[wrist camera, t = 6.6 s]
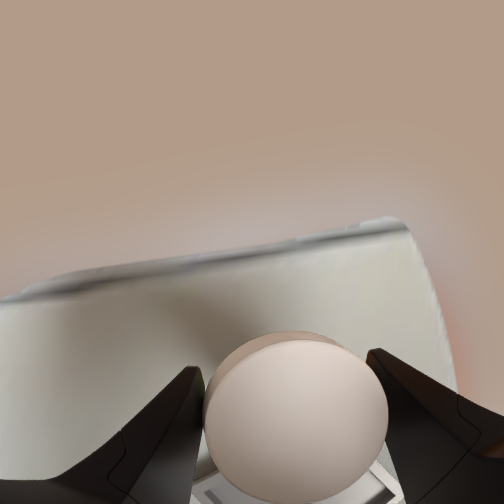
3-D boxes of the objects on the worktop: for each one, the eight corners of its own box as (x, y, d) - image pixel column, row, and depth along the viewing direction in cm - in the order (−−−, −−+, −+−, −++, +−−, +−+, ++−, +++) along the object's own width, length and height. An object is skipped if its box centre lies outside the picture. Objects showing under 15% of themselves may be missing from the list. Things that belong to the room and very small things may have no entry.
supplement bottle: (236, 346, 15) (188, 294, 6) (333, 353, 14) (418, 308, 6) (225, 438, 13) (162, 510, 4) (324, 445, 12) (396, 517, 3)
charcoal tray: (284, 561, 11) (284, 571, 9) (193, 480, 15) (187, 488, 14) (399, 486, 14) (408, 493, 12) (318, 399, 18) (323, 402, 16)
